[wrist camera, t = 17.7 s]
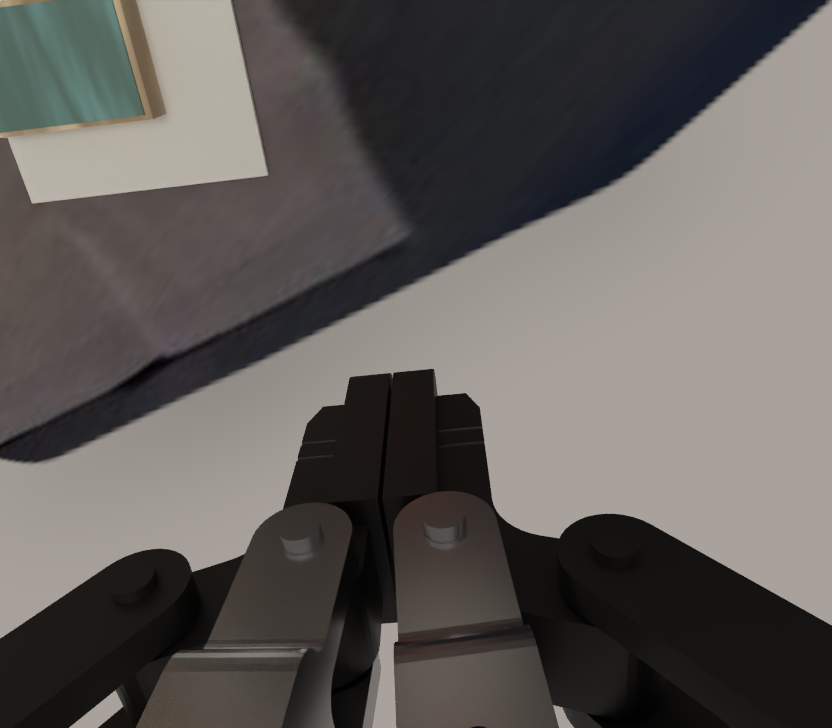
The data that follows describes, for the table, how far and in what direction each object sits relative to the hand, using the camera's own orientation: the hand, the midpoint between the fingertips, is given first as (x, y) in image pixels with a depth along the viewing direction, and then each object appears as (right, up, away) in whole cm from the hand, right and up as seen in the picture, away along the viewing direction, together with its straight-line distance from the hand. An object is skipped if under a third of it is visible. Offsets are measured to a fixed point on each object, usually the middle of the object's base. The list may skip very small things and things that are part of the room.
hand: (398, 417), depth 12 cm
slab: (-16, +19, +28) cm, 37 cm away
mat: (-18, +20, +29) cm, 40 cm away
